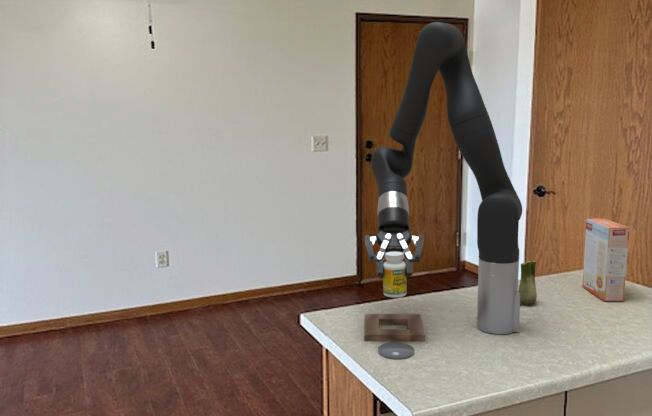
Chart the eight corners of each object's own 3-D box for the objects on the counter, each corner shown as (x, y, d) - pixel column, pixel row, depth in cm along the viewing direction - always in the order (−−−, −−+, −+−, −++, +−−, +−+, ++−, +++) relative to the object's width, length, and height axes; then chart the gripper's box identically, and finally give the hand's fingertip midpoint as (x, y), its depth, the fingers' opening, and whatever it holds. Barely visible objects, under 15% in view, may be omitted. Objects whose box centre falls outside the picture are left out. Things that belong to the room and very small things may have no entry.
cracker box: (625, 302, 157) (630, 226, 154) (603, 302, 158) (608, 227, 154) (602, 286, 171) (606, 217, 168) (581, 287, 171) (585, 217, 168)
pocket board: (419, 319, 147) (419, 314, 146) (425, 341, 133) (425, 335, 133) (364, 319, 148) (364, 313, 147) (364, 340, 134) (364, 334, 134)
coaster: (412, 344, 131) (413, 342, 131) (415, 359, 123) (415, 356, 123) (377, 344, 132) (377, 341, 132) (378, 359, 124) (378, 356, 124)
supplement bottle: (396, 289, 135) (396, 249, 134) (411, 295, 131) (411, 253, 129) (378, 293, 133) (377, 252, 131) (393, 299, 128) (392, 257, 127)
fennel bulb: (532, 300, 160) (534, 258, 158) (541, 306, 155) (543, 263, 153) (512, 301, 159) (514, 259, 157) (521, 307, 154) (522, 264, 152)
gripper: (362, 206, 137) (362, 268, 127) (424, 205, 135) (428, 268, 125) (363, 223, 143) (363, 284, 133) (422, 223, 141) (426, 284, 131)
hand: (395, 276), depth 129 cm, fingers closed on supplement bottle, 5 cm apart
